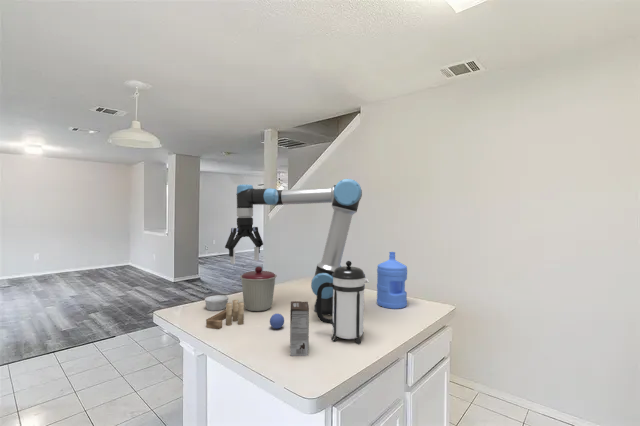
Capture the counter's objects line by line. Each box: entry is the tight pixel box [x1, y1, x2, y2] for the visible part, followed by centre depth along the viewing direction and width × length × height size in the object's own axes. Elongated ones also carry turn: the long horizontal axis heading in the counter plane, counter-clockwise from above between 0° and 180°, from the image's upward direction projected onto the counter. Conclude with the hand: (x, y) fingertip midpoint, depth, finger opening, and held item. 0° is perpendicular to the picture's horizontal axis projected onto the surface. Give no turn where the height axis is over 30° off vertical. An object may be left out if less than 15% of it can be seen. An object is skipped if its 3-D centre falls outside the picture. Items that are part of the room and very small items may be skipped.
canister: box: [239, 266, 278, 312], centre depth 159 cm, size 18×18×21 cm
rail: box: [205, 309, 226, 330], centre depth 139 cm, size 7×17×3 cm, turn 164°
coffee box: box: [289, 300, 310, 357], centre depth 111 cm, size 9×6×16 cm
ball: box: [269, 313, 285, 330], centre depth 132 cm, size 6×6×6 cm
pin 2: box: [232, 299, 239, 323], centre depth 141 cm, size 2×2×9 cm
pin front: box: [237, 301, 245, 326], centre depth 137 cm, size 2×2×9 cm
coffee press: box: [316, 260, 370, 345], centre depth 123 cm, size 17×16×30 cm
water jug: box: [376, 251, 408, 310], centre depth 168 cm, size 16×16×28 cm
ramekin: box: [204, 294, 229, 312], centre depth 159 cm, size 11×11×5 cm
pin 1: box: [225, 302, 233, 326], centre depth 136 cm, size 2×2×9 cm
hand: (245, 261), depth 150 cm, fingers open, 13 cm apart
